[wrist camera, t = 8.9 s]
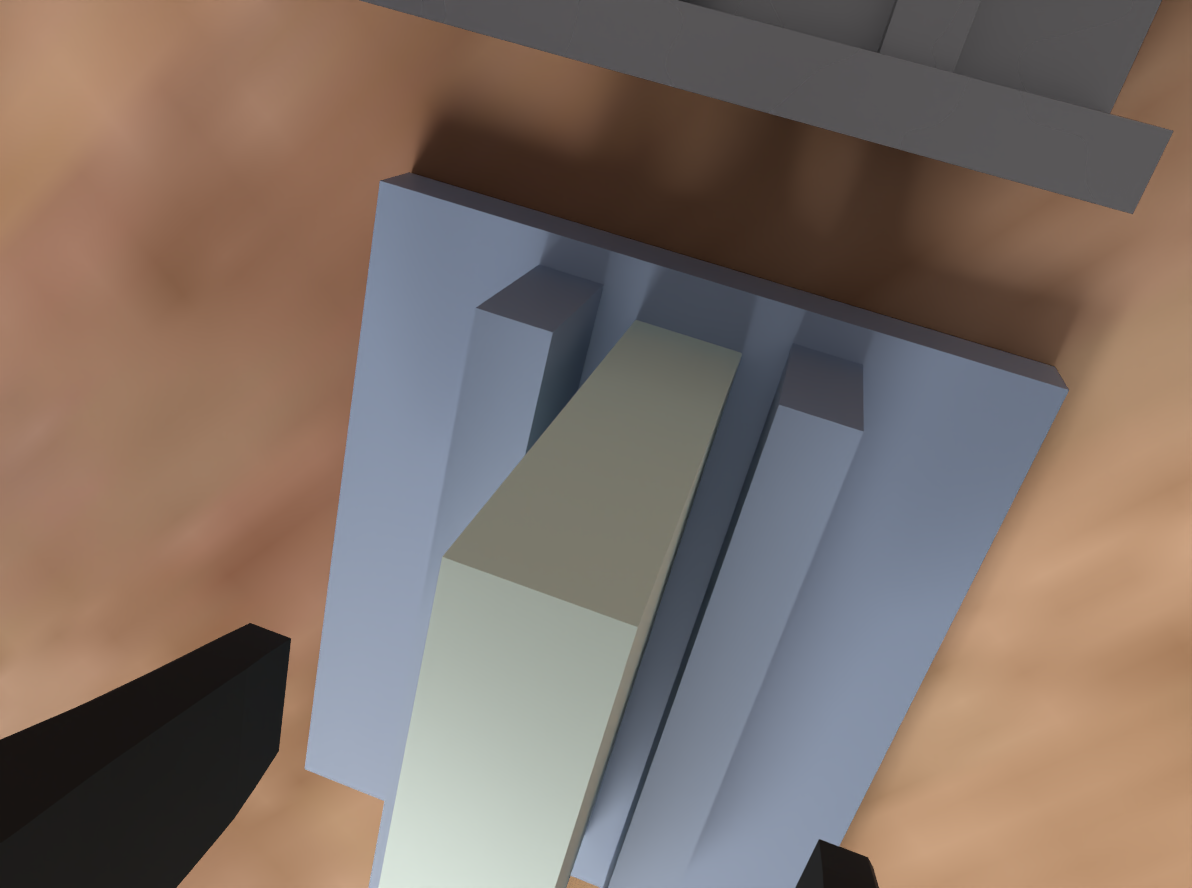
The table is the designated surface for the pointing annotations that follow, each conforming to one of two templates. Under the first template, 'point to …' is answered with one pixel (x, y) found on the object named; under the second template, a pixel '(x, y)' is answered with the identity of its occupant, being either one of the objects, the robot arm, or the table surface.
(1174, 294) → the table surface
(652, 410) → the pale green slab
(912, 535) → the sheet stand
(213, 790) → the robot arm
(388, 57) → the table surface
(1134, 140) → the slotted rack
